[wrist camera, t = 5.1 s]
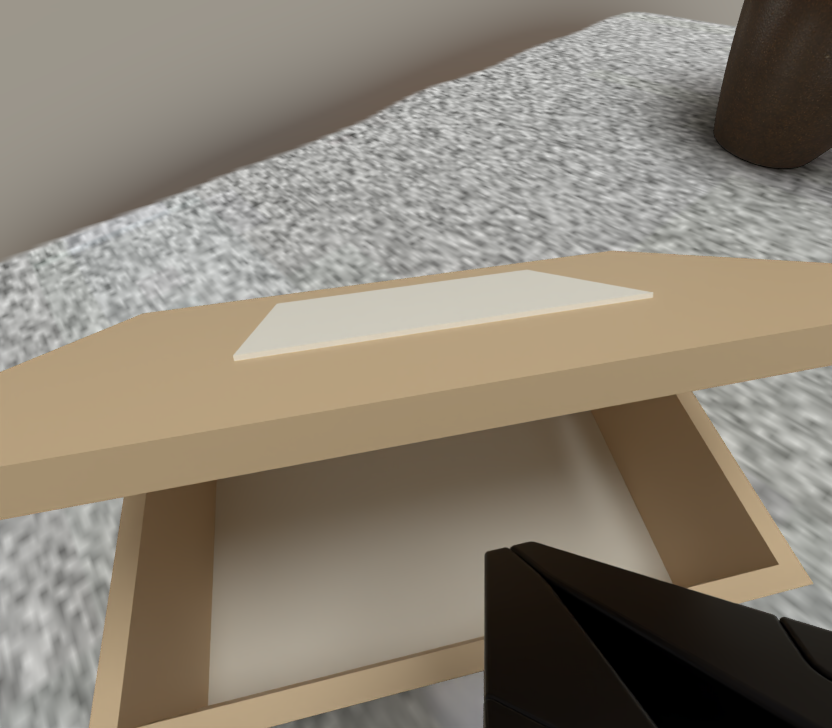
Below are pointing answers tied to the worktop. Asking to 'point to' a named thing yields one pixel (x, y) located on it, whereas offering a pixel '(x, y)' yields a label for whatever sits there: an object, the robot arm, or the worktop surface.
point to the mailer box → (406, 560)
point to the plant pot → (778, 84)
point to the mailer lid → (392, 367)
